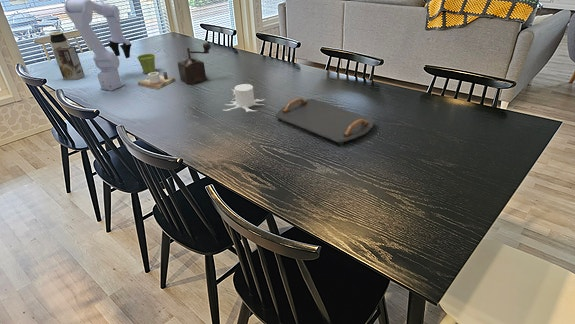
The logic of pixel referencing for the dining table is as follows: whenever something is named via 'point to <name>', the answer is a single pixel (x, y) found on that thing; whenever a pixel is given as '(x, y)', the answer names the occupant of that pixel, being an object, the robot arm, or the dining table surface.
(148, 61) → the plant pot
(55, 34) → the travel mug
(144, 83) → the pin board
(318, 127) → the serving board
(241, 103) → the tree stump
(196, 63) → the manual coffee grinder
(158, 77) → the sleeve
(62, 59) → the coffee box
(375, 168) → the dining table surface
